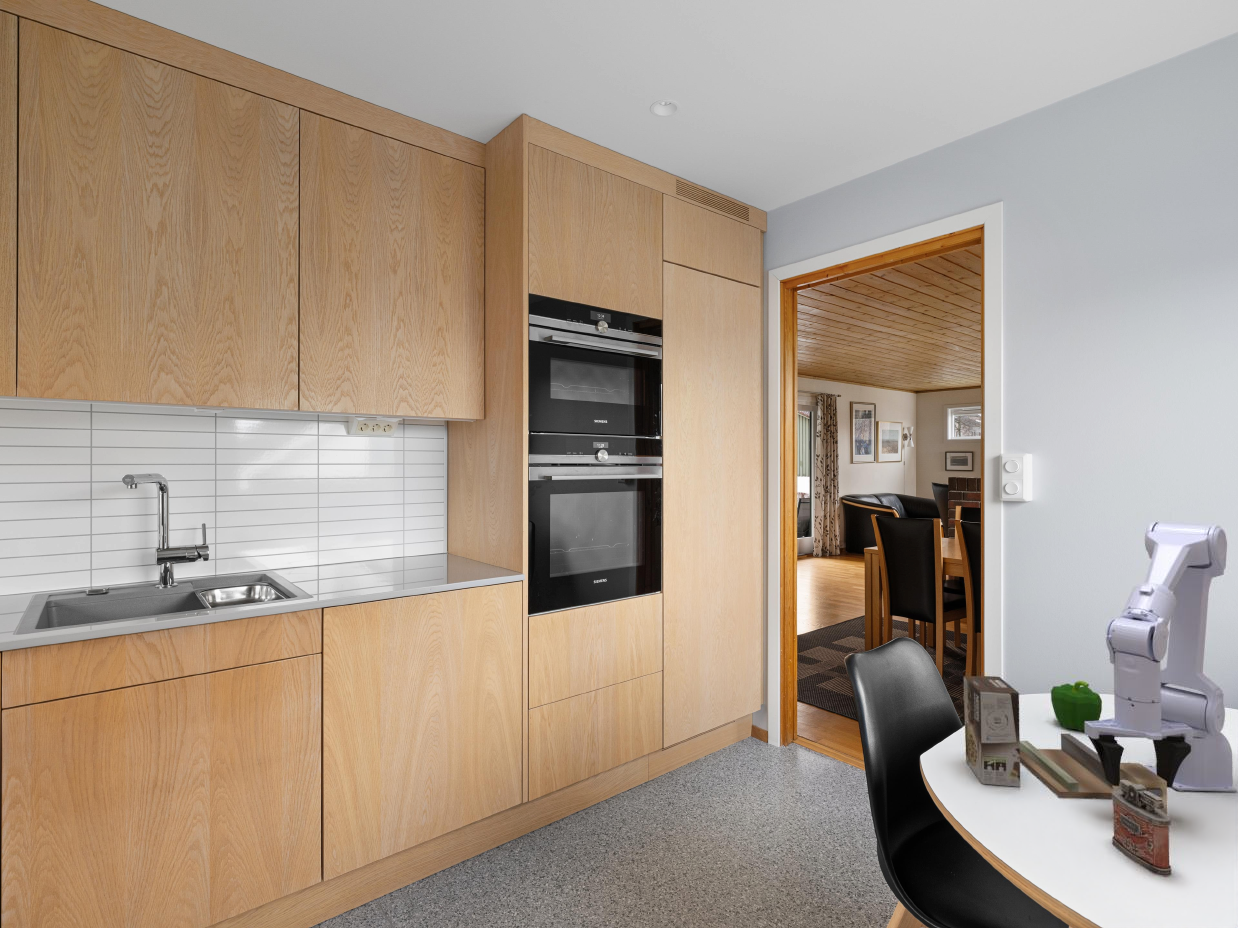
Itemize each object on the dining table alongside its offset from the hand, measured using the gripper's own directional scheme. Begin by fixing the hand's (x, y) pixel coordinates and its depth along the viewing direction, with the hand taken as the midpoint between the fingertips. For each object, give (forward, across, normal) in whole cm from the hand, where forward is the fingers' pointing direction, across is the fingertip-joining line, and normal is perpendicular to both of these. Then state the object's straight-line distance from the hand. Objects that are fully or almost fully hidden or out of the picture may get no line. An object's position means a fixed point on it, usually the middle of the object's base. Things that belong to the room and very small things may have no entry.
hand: (1138, 783), depth 101 cm
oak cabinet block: (+5, 0, 0) cm, 5 cm away
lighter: (+5, -7, -11) cm, 14 cm away
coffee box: (+5, -16, +13) cm, 21 cm away
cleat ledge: (+5, -3, +13) cm, 14 cm away
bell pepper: (+5, +10, +34) cm, 36 cm away
